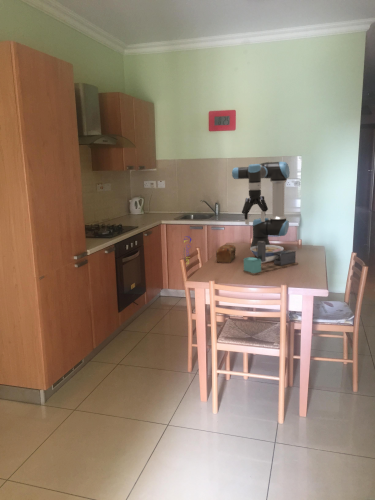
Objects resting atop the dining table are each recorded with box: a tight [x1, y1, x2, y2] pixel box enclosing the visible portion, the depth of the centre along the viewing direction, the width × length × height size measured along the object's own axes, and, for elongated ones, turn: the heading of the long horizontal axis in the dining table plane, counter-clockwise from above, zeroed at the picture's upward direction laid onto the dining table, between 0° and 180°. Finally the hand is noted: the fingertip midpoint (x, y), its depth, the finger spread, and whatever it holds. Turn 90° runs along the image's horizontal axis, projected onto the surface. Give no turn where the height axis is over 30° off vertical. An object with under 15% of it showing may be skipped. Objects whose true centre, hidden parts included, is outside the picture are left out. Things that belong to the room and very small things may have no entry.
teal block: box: [243, 256, 262, 273], centre depth 236 cm, size 6×9×8 cm, turn 32°
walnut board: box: [242, 261, 299, 276], centre depth 245 cm, size 38×9×1 cm, turn 122°
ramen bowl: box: [249, 244, 285, 258], centre depth 269 cm, size 25×23×8 cm
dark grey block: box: [273, 249, 297, 266], centre depth 250 cm, size 13×6×8 cm, turn 122°
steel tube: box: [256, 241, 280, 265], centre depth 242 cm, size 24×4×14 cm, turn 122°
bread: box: [215, 244, 236, 264], centre depth 271 cm, size 19×11×10 cm, turn 162°
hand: (255, 223), depth 250 cm, fingers open, 13 cm apart
